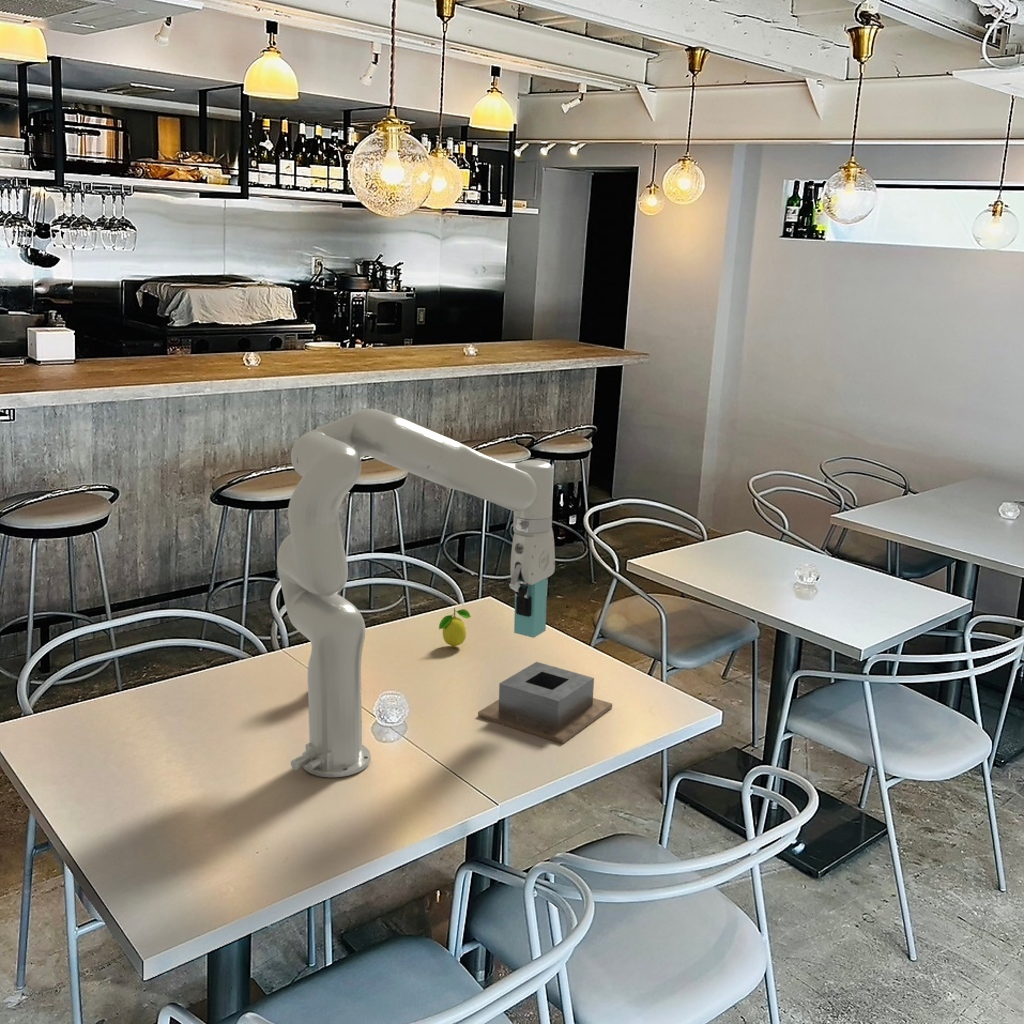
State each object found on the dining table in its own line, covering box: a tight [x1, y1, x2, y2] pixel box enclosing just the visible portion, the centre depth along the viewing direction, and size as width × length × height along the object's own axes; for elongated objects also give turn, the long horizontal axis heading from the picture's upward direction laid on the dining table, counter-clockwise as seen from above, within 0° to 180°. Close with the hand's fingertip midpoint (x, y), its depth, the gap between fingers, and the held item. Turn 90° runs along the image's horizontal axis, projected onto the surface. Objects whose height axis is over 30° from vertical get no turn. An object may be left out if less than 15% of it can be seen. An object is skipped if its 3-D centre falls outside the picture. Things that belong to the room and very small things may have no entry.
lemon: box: [438, 607, 472, 648], centre depth 249 cm, size 7×6×10 cm
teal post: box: [513, 578, 548, 639], centre depth 212 cm, size 5×5×12 cm
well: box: [477, 661, 613, 745], centre depth 217 cm, size 20×20×7 cm
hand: (530, 610), depth 213 cm, fingers closed on teal post, 4 cm apart
